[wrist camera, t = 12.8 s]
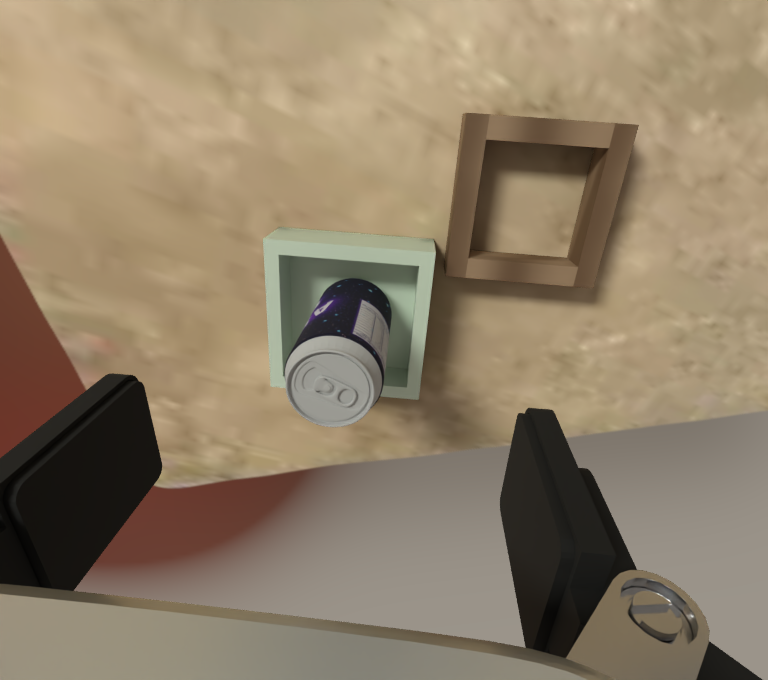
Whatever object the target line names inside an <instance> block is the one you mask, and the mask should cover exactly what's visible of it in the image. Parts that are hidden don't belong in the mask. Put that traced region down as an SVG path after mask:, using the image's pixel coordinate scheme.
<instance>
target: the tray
mask: <svg viewBox="0 0 768 680" xmlns="http://www.w3.org/2000/svg"><path fill="white" fill-rule="evenodd" d="M263 245H264V265H265V284H266V304H267V323H268V342H269V362H270V381H271V387H281V388H286V387H285V384H286V382H285V376H284V369H285V363H286V360H287V358H288V356H289V354H290V352H291V350H292V348H293V347H294V345H295V343H296V341H297V339H298V338H299V336H300V334H301V332H302V330H303V329H304V327H305V325H306V323H307V321H308V320H309V318H310V316H311V314H312V312H313V311H314V309H315V307H316V305H317V303H318V302H319V300H320V298H321V296H322V294H323V293H324V292H325V290H326V289H327V288H328V287H329V286H331V285H332V284H334V283H335V282H337V281H340V280H343V279H348V278H358V279H363V280H366V281H369V282H371V283H373V284H374V285H376V286H377V287H379V288H380V289H381V290H382V291H383V292H384V294H385V295H386V297H387V298H388V300H389V303H390V306H391V311H392V319H391V327H390V335H389V343H388V351H387V359H386V368H385V376H384V384H383V389H382V392H381V395H380V396H381V397H392V398H403V399H414V400H419V393H420V384H421V375H422V367H423V358H424V350H425V341H426V332H427V324H428V315H429V307H430V298H431V289H432V281H433V272H434V264H435V255H436V251H435V245H434V239H425V238H412V237H400V236H387V235H375V234H362V233H349V232H337V231H324V230H312V229H299V228H286V227H279V228H277V229H276V230H275V231H273V232H272V233H270V234H269V235H268V236H266V237H265V238H264V239H263Z"/></svg>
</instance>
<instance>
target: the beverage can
mask: <svg viewBox="0 0 768 680" xmlns="http://www.w3.org/2000/svg"><path fill="white" fill-rule="evenodd" d="M391 319H392V311H391V306H390V303H389V300H388V298H387V297H386V295H385V294H384V292H383V291H382V290H381V289H380V288H379V287H377V286H376V285H374V284H373V283H371V282H369V281H366V280H363V279H358V278H348V279H343V280H340V281H337V282H335V283H334V284H332V285H331V286H329V287H328V288H327V289H326V290H325V292H324V293H323V294H322V296H321V298H320V300H319V302H318V303H317V305H316V307H315V309H314V311H313V312H312V314H311V316H310V318H309V320H308V321H307V323H306V325H305V327H304V329H303V330H302V332H301V334H300V336H299V338H298V339H297V341H296V343H295V345H294V347H293V348H292V350H291V352H290V354H289V356H288V358H287V360H286V363H285V369H284V376H285V382H286V384H285V387H286V393H287V397H288V399H289V401H290V403H291V405H292V406H293V408H294V409H295V410H296V411H297V412H298V413H299V414H300V415H301V416H302V417H304V418H305V419H307V420H308V421H310V422H312V423H315V424H317V425H321V426H326V427H343V426H347V425H350V424H353V423H355V422H357V421H358V420H360V419H361V418H362V417H364V416H365V415H366V414H367V412H368V411H369V410H370V408H371V407H373V405H374V404H375V403H376V402H377V400H378V399H379V397H380V395H381V392H382V389H383V384H384V376H385V368H386V359H387V351H388V343H389V335H390V327H391Z"/></svg>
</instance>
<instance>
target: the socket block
mask: <svg viewBox="0 0 768 680" xmlns="http://www.w3.org/2000/svg"><path fill="white" fill-rule="evenodd" d="M638 126H639V125H632V124H618V123H604V122H589V121H575V120H561V119H547V118H533V117H519V116H504V115H490V114H476V113H465V114H463V118H462V126H461V134H460V142H459V149H458V157H457V165H456V173H455V181H454V189H453V197H452V205H451V213H450V221H449V229H448V237H447V245H446V253H445V261H444V270H445V275H446V276H450V277H462V278H475V279H487V280H499V281H511V282H524V283H536V284H548V285H560V286H572V287H585V288H593V287H594V283H595V280H596V276H597V273H598V269H599V266H600V262H601V258H602V255H603V251H604V248H605V244H606V241H607V237H608V233H609V230H610V226H611V223H612V219H613V216H614V212H615V208H616V205H617V201H618V198H619V194H620V191H621V187H622V183H623V180H624V176H625V173H626V169H627V166H628V162H629V158H630V155H631V151H632V148H633V144H634V141H635V137H636V133H637V130H638ZM486 140H500V141H514V142H528V143H541V144H555V145H569V146H583V147H594V151H593V155H592V159H591V163H590V167H589V171H588V175H587V179H586V183H585V187H584V191H583V195H582V200H581V204H580V208H579V212H578V216H577V220H576V224H575V228H574V232H573V236H572V240H571V244H570V248H569V252H568V256H567V258H562V257H550V256H537V255H525V254H512V253H499V252H487V251H474V250H470V244H471V237H472V230H473V224H474V217H475V210H476V203H477V197H478V190H479V183H480V177H481V170H482V163H483V156H484V150H485V143H486Z"/></svg>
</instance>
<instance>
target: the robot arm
mask: <svg viewBox="0 0 768 680" xmlns="http://www.w3.org/2000/svg"><path fill="white" fill-rule="evenodd" d="M161 471H162V462H161V457H160V453H159V449H158V444H157V440H156V436H155V431H154V427H153V423H152V419H151V414H150V410H149V406H148V401H147V397H146V393H145V388H144V385H143V384H142V382H139V381H138V379H137V378H136V377H135V376H133V375H123V374H108V375H106V376H104V377H103V378H102V379H101V380H99V381H98V382H97V383H95V384H94V385H93V386H92V387H90V388H89V389H88V390H87V391H85V392H84V393H83V394H81V395H80V396H79V397H78V398H76V399H75V400H74V401H73V402H71V403H70V404H69V405H68V406H66V407H65V408H64V409H62V410H61V411H60V412H59V413H57V414H56V415H55V416H53V417H52V418H51V419H50V420H48V421H47V422H46V423H45V424H43V425H42V426H41V427H40V428H38V429H37V430H36V431H34V432H33V433H32V434H31V435H29V436H28V437H27V438H25V439H24V440H23V441H22V442H20V443H19V444H18V445H17V446H15V447H14V448H13V449H12V450H10V451H9V452H8V453H6V454H5V455H4V456H3V457H1V458H0V680H762V679H761V678H759V677H758V676H757V675H755V674H754V673H752V672H751V671H749V670H748V669H747V668H745V667H744V666H743V665H741V664H740V663H739V662H737V661H736V660H734V659H733V658H732V657H730V656H729V655H727V654H726V653H725V652H723V651H722V650H720V649H719V648H718V647H716V646H715V645H714V644H712V643H711V642H709V628H708V625H707V621H706V618H705V616H704V615H703V613H702V611H701V610H700V609H699V607H698V605H697V604H696V603H695V602H694V601H693V600H692V599H691V598H690V596H689V595H688V594H686V592H685V591H683V590H682V589H681V588H679V587H678V586H676V585H675V584H674V583H672V582H671V581H669V580H667V579H665V578H663V577H661V576H659V575H657V574H654V573H650V572H647V571H643V570H637V569H636V567H635V564H634V562H633V560H632V558H631V556H630V554H629V552H628V549H627V547H626V545H625V543H624V541H623V539H622V537H621V534H620V533H619V530H618V528H617V526H616V524H615V522H614V519H613V517H612V515H611V513H610V511H609V509H608V507H607V504H606V502H605V500H604V498H603V496H602V494H601V492H600V489H599V487H598V485H597V483H596V481H595V479H594V476H593V475H592V473H591V472H590V471H589V470H588V469H585V468H578V466H577V464H576V461H575V459H574V457H573V454H572V452H571V450H570V448H569V445H568V443H567V441H566V438H565V436H564V434H563V431H562V429H561V427H560V424H559V422H558V420H557V418H556V415H555V413H554V411H553V410H548V409H536V408H528V409H527V410H526V412H525V414H523V413H519V414H518V416H517V419H516V424H515V429H514V434H513V439H512V444H511V448H510V454H509V458H508V463H507V468H506V473H505V478H504V482H503V487H502V492H501V497H500V511H501V517H502V522H503V528H504V533H505V538H506V544H507V549H508V554H509V560H510V565H511V571H512V576H513V581H514V587H515V592H516V598H517V603H518V608H519V614H520V619H521V625H522V630H523V635H524V641H525V646H526V648H523V647H518V646H513V645H507V644H502V643H497V642H491V641H485V640H478V639H471V638H463V637H457V636H449V635H442V634H435V633H428V632H420V631H413V630H405V629H397V628H388V627H380V626H373V625H364V624H356V623H348V622H340V621H331V620H323V619H314V618H306V617H298V616H290V615H281V614H272V613H263V612H255V611H247V610H238V609H229V608H220V607H212V606H203V605H194V604H186V603H177V602H167V601H159V600H151V599H141V598H132V597H123V596H114V595H104V594H95V593H86V592H77V591H74V589H75V588H76V587H77V585H78V584H79V583H80V581H81V580H82V579H83V577H84V576H85V575H86V573H87V572H88V571H89V570H90V568H91V567H92V566H93V564H94V563H95V562H96V560H97V559H98V558H99V556H100V555H101V554H102V552H103V551H104V549H105V548H106V547H107V546H108V544H109V543H110V542H111V540H112V539H113V538H114V536H115V535H116V534H117V532H118V531H119V530H120V529H121V527H122V526H123V525H124V523H125V522H126V521H127V519H128V518H129V516H130V515H131V514H132V513H133V511H134V510H135V509H136V507H137V506H138V505H139V503H140V502H141V501H142V500H143V498H144V497H145V496H146V494H147V493H148V492H149V490H150V489H151V487H152V486H153V485H154V484H155V482H156V481H157V480H158V478H159V476H160V474H161Z"/></svg>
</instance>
